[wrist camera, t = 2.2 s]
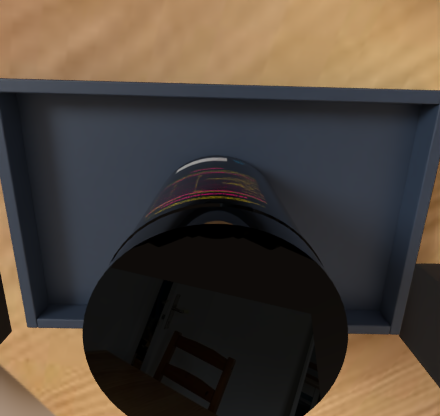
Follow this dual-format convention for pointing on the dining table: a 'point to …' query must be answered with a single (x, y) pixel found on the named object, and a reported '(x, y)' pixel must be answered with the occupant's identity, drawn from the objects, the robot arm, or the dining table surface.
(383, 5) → the dining table surface
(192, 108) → the tray
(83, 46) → the dining table surface
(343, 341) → the supplement container
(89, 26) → the dining table surface
